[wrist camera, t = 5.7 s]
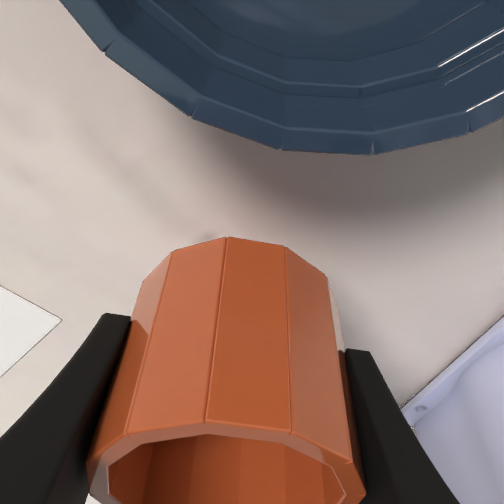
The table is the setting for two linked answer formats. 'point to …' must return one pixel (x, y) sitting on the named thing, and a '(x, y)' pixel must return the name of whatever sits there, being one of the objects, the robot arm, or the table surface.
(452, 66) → the serving bowl
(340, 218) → the table surface
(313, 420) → the orange hollow tube
